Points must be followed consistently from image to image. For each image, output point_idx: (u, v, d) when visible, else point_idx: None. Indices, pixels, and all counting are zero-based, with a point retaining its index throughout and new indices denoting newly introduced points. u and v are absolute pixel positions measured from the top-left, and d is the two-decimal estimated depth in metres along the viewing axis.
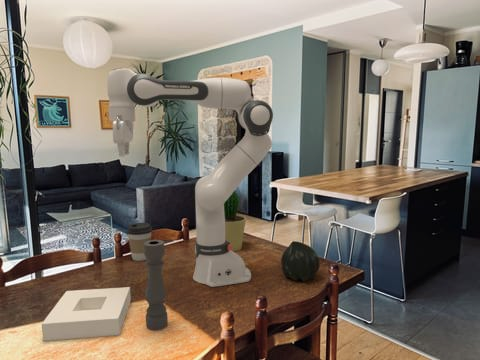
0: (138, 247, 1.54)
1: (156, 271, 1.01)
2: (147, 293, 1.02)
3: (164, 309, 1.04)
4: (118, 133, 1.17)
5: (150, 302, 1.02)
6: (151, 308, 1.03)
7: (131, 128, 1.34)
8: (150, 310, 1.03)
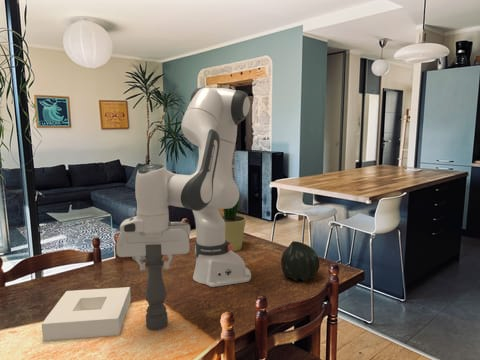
0: None
1: (156, 271, 1.01)
2: (147, 293, 1.02)
3: (164, 309, 1.04)
4: None
5: (150, 302, 1.02)
6: (151, 308, 1.03)
7: None
8: (150, 310, 1.03)
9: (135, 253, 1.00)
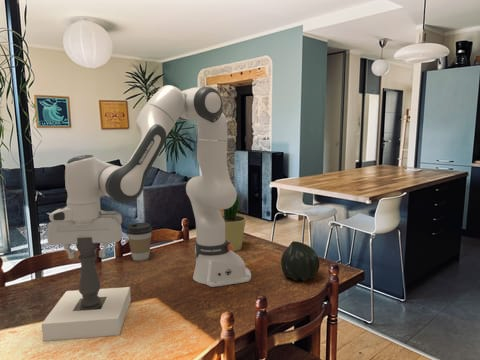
0: (138, 247, 1.54)
1: (89, 263, 1.04)
2: (80, 285, 1.05)
3: (98, 301, 1.07)
4: (120, 229, 1.06)
5: (83, 294, 1.05)
6: (84, 300, 1.06)
7: None
8: (83, 302, 1.06)
9: (66, 241, 1.03)
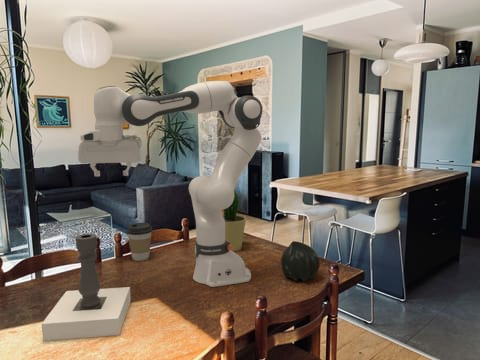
0: (138, 247, 1.54)
1: (88, 263, 1.04)
2: (80, 285, 1.05)
3: (98, 301, 1.07)
4: (140, 152, 1.23)
5: (83, 294, 1.05)
6: (84, 300, 1.06)
7: None
8: (83, 302, 1.05)
9: (94, 160, 1.20)
